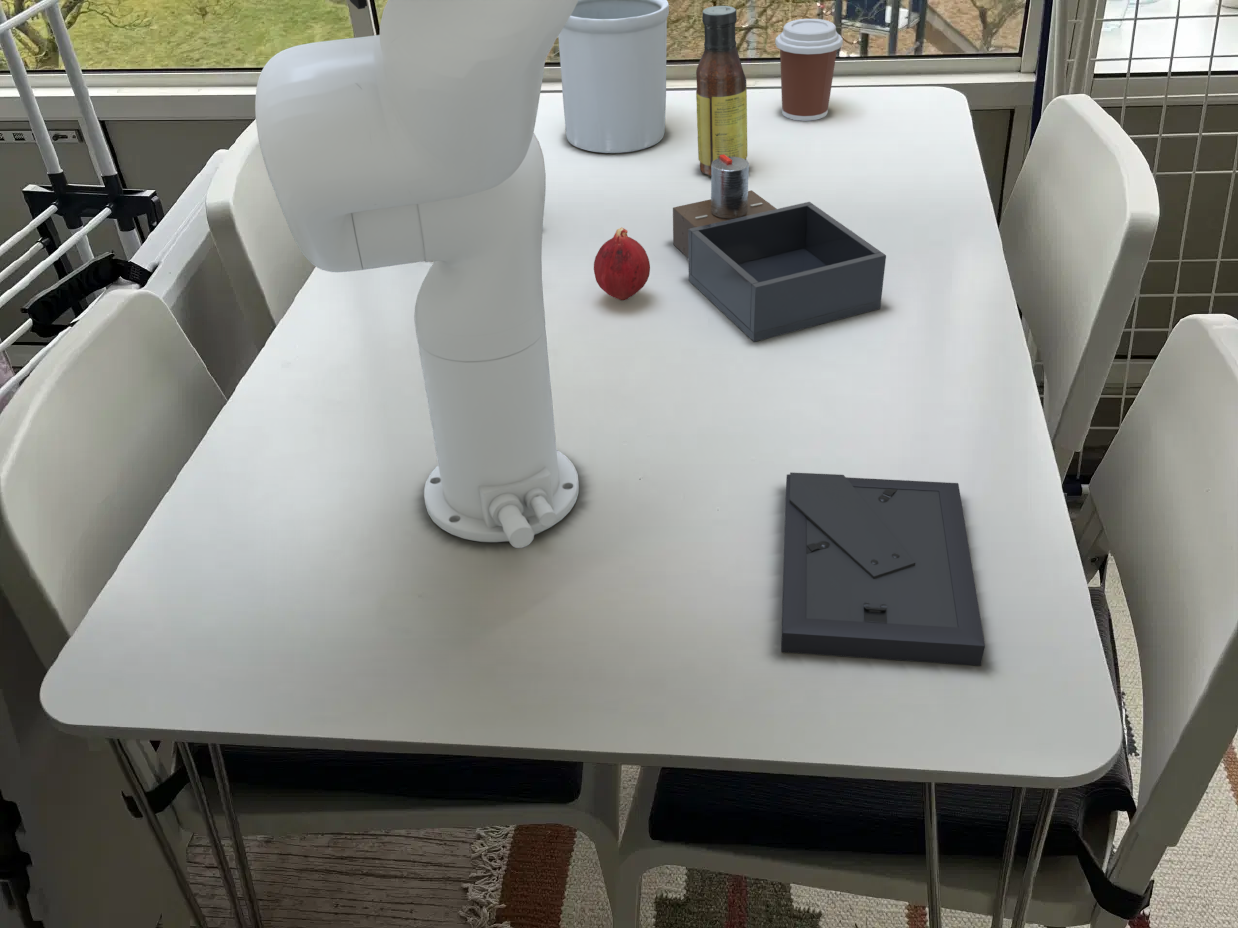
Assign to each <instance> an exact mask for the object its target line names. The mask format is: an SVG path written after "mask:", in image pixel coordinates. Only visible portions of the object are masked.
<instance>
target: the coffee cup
mask: <svg viewBox="0 0 1238 928" xmlns="http://www.w3.org/2000/svg"><path fill="white" fill-rule="evenodd" d="M774 42H775V43H774V44H775V47H776V48H777V49H779V58H780V59H779V60H780V61H779V62H780V88H781V115H782V116H783V117H785V118H787V119H791V120H794V121H800V122H801V121H803V122H806V121H816V120H820V119H823V118H825V117H827V115H828V113H829V105H830V99H831V98H830V97H831V92H832V86H833V78H834V72H835V66H836V59H837V53H838V50H839V49H841V47H842V46H843V44H844V39H843V37H842V36H841V34H839V33H838V32H837V26H836V25H835V24H834V22H832V21H829V20H827V19H822V18H800V19H794V20H791V21H788V22H785V24H784V25H783V30H782V32H781V33H778V35H777V36H776V37H775V41H774Z"/></svg>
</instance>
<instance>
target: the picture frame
mask: <svg viewBox="0 0 1238 928" xmlns="http://www.w3.org/2000/svg"><path fill="white" fill-rule="evenodd" d="M785 481H786V483H785V498H784V499H785V500H784V501H785V502H784V531H783V532H784V535H783V537H784V538H783V566H782V567H783V568H782V569H783V572H782V602H781V603H782V604H781V606H782V607H781V611H782V612H781V636H780V637H781V638H780V640H781V641H780V642H781V643H780V653H791V654H793V653H794V654H805V655H818V656H819V655H820V656H834V657H835V656H836V657H849V658H863V659H877V660H891V661H904V662H905V661H907V662H918V663H919V662H920V663H933V664H948V665H949V664H950V665H951V664H952V665H963V666H977V667H978V666H979V667H980V666H982V661H983V657H984V652H985V649H986V644H985V637H984V631H983V626H982V625H983V624H982V619H981V614H980V613H981V612H980V607H979V601H978V594H977V588H976V582H975V577H974V570H973V564H972V558H971V552H970V546H969V540H968V534H967V528H966V522H965V514H964V510H963V503H962V497H961V491H960V485H959V483H958V482H945V481H926V480H924V481H923V480H907V479H906V480H904V479H888V478H887V479H886V478H865V477H847V476H845V474H836V473H835V474H834V473H833V474H832V473H812V472H810V473H809V472H790V473H788V474H786V480H785Z"/></svg>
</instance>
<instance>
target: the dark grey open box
mask: <svg viewBox="0 0 1238 928" xmlns="http://www.w3.org/2000/svg"><path fill="white" fill-rule="evenodd" d="M688 256H689V258H688V281H689V282H690V283H691V284H692V285H693V286H694V287H695V288H696V289H697V290H698V291H699V292H700V293H702V295H704V296H705V297H706V299H708V300H709V302H711V303H712V304H713V305H714V306H715V307H716V308H717V309H718V310H719V311H720V312H721V313H722V314H723V315H725V316H726V318H727V319H729V320H730V321H731V322H732V323H733V324H734V325H735V326H736V327H737V328H738V329H739V330H740V331H742V332H743V333H744V334H745V335H746V336H747V337H748V338H749V339H750V340H751V341H752V342H753V343H756V342H759V341H762V340H767V339H771V338H774V337H778V336H782V335H785V334H790V333H793V332H796V331H801V330H804V329H809V328H812V327H816V326H820V325H823V324H827V323H831V322H835V321H839V320H842V319H846V318H850V317H854V316H857V315H862V314H865V313H870V312H872V311H876V310H880V309H881V304H882V297H883V289H884V280H885V279H884V277H885V270H886V269H885V268H886V261H887V260H886V259H887V255H886V254H885V253H884V252H882V251H881V250H879V249H878V248H876V247H875V246H873V244H871V243H869V242H868V241H867V240H865V239H864V238H862V237H861V236H860V235H858V234H856V233H855V232H853V231H852V230H850V229H849V228H848V227H846V226H845V225H844V224H842V223H841V222H839V221H838V220H837V219H836V218H833V217H832V216H831V215H829V214H827V213H826V212H825V211H824V210H822V209H821V208H819V207H818V206H816V205H815V204H813V203H812V202H811V201H806V202H802V203H797V204H794V205H787V206H784V207H780V208H776V209H775V210H770V211H766V212H762V213H757V214H753V215H748V216H744V217H739V218H735V219H731V220H726V221H722V222H717V223H713V224H708V225H704V226H700V227H695V228H691V229H688Z"/></svg>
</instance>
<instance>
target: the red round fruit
mask: <svg viewBox="0 0 1238 928" xmlns="http://www.w3.org/2000/svg"><path fill="white" fill-rule="evenodd" d="M628 231H629V230H628V229H626V228H625V227H622V226H621V227H620V228H617V229H616V231H615V233H614V235H613V237H612V238H610V239H608V240H607V241H605V242H604V243H603V244H602V245H601V247H600V248H599V249H598V251H597V253H596V254H595V256H594V257H595V258H594V261H593V274H594V277H595V282H596V284H597V285H598V286H599V288H600V289H601V290H602V291H603V292H605V293H606V294H607V295H608V296H610V297H612V298H614V299H616V300H618V301H621V302H622V301H623V302H624V301H627V300H629V299H630V298H632V297H633V296H635V295H636V294H637V293H638V292H639V291H641V290H642V289H643V288H644V287H645V285H646V284H647V283H648V281H649V277H650V273H651V264H650V259H649V257H648V254H647V251H646V250H645V248H644V246H643V245H642V244H641V243H640V242H638V241H637V240H636V239H634V238H632V237H630V236H628Z"/></svg>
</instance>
